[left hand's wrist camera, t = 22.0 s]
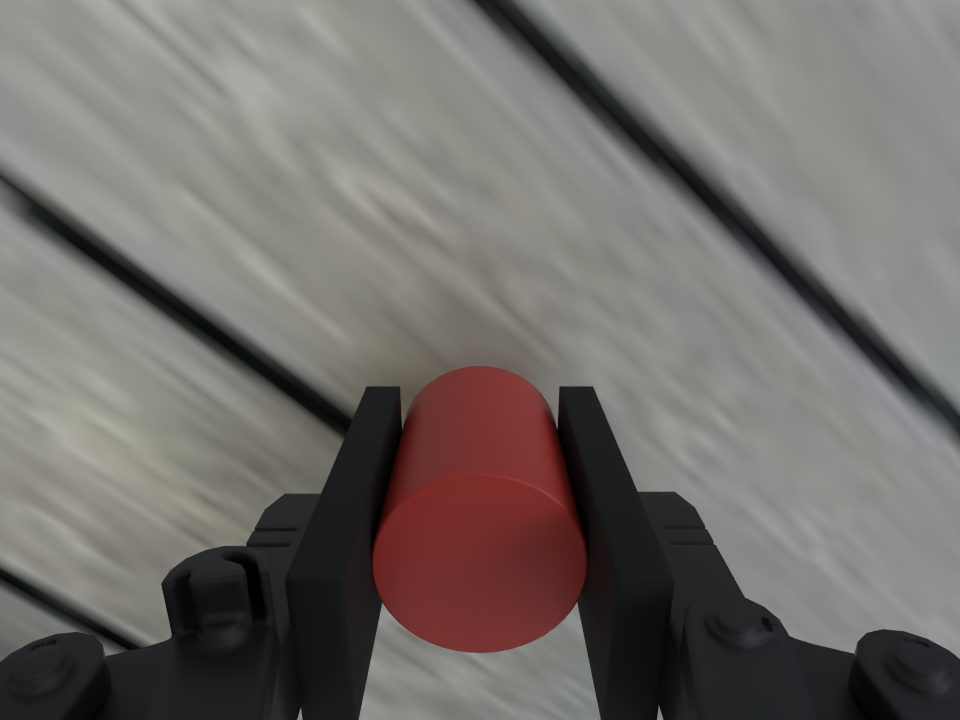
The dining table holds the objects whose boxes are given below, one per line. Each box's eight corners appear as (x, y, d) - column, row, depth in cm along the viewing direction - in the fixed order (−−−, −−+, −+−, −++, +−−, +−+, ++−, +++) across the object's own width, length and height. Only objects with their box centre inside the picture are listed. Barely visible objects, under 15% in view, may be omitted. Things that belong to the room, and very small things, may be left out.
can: (462, 335, 14) (453, 431, 10) (587, 421, 15) (634, 549, 10) (373, 452, 15) (329, 588, 11) (495, 527, 16) (502, 685, 12)
